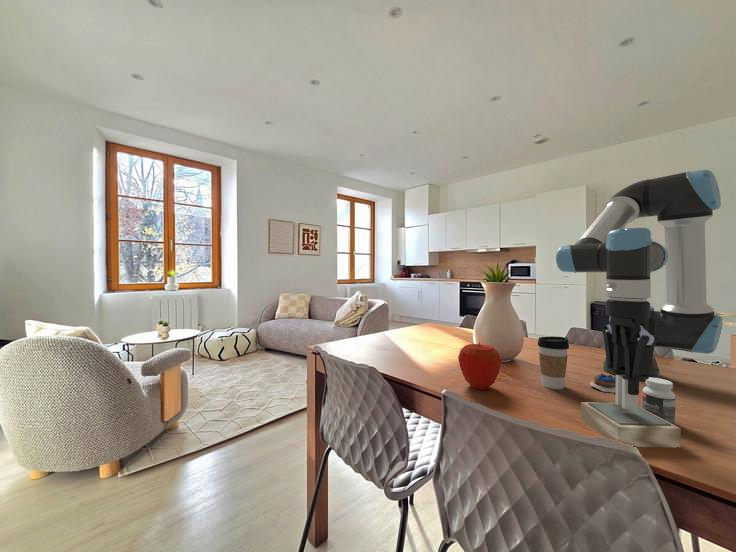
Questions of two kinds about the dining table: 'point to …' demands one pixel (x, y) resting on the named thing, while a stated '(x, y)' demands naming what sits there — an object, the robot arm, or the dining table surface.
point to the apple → (479, 365)
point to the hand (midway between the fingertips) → (626, 406)
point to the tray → (630, 425)
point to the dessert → (604, 383)
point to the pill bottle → (659, 399)
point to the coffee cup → (553, 361)
